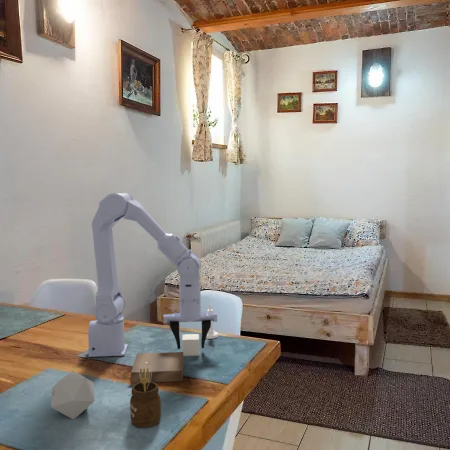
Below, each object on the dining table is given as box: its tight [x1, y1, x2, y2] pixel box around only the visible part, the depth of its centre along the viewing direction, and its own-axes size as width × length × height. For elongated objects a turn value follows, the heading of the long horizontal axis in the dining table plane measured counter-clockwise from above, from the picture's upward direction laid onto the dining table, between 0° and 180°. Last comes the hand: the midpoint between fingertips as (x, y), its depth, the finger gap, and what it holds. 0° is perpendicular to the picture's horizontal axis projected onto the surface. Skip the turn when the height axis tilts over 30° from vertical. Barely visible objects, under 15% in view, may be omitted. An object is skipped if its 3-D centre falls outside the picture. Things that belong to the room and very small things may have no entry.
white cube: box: [181, 333, 200, 357], centre depth 126 cm, size 4×4×4 cm
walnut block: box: [130, 351, 184, 384], centre depth 114 cm, size 12×12×3 cm
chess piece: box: [206, 303, 220, 340], centre depth 139 cm, size 5×5×10 cm
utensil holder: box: [129, 363, 162, 429], centre depth 90 cm, size 6×6×12 cm
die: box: [50, 370, 96, 421], centre depth 94 cm, size 8×9×10 cm
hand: (190, 347), depth 126 cm, fingers open, 6 cm apart
